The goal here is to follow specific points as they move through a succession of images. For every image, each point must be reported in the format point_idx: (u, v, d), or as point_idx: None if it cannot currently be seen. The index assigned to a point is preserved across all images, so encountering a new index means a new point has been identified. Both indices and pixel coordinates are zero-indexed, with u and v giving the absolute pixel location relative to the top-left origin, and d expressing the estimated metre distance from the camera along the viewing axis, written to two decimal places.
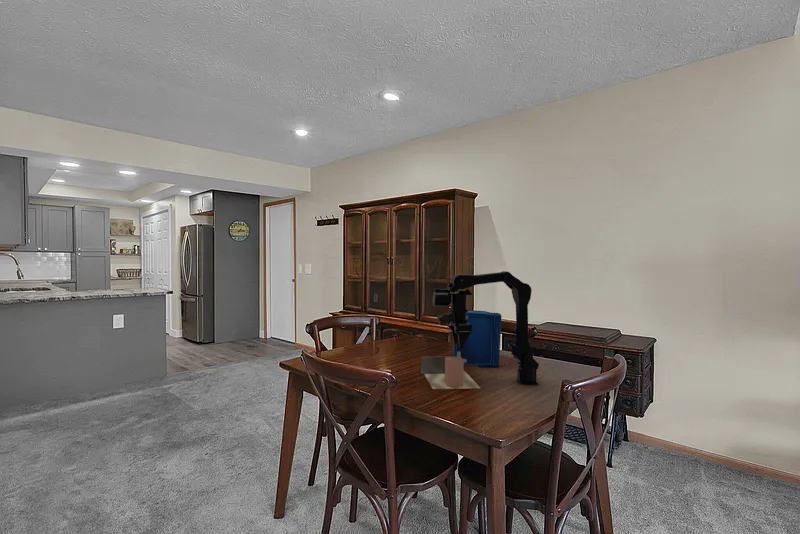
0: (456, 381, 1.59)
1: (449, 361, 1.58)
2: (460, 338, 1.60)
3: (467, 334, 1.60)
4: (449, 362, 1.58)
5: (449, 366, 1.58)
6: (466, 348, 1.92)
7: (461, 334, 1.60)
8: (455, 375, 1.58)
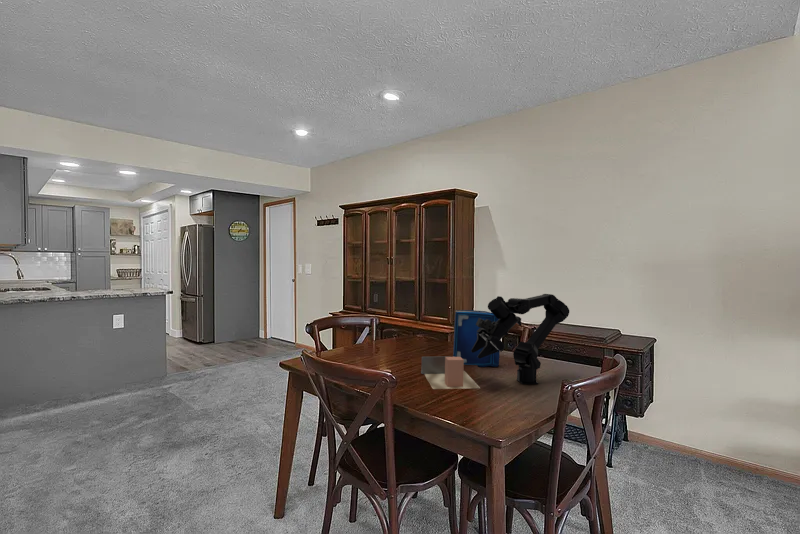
0: (456, 381, 1.59)
1: (449, 361, 1.58)
2: (485, 349, 1.56)
3: (494, 351, 1.56)
4: (449, 362, 1.58)
5: (449, 366, 1.58)
6: (466, 348, 1.92)
7: (489, 347, 1.56)
8: (455, 375, 1.58)
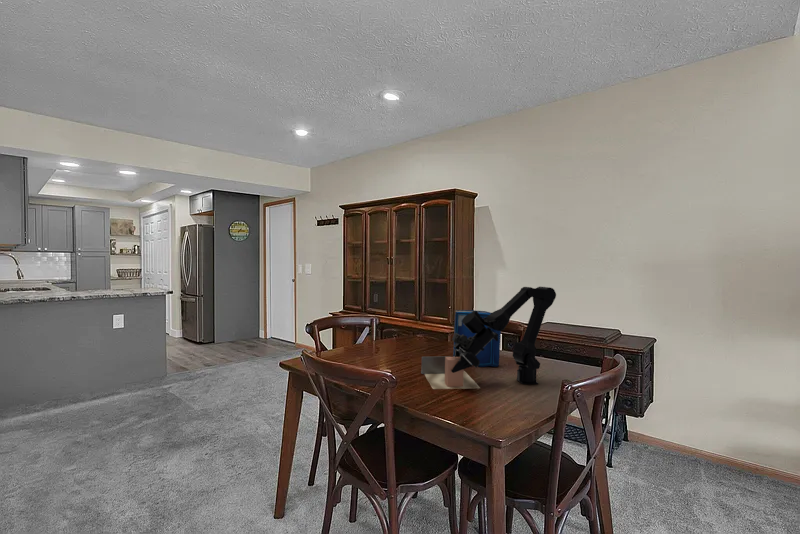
0: (456, 381, 1.59)
1: (449, 361, 1.58)
2: (459, 363, 1.57)
3: (467, 365, 1.57)
4: (449, 362, 1.58)
5: (449, 366, 1.58)
6: None
7: (462, 361, 1.57)
8: (455, 375, 1.58)
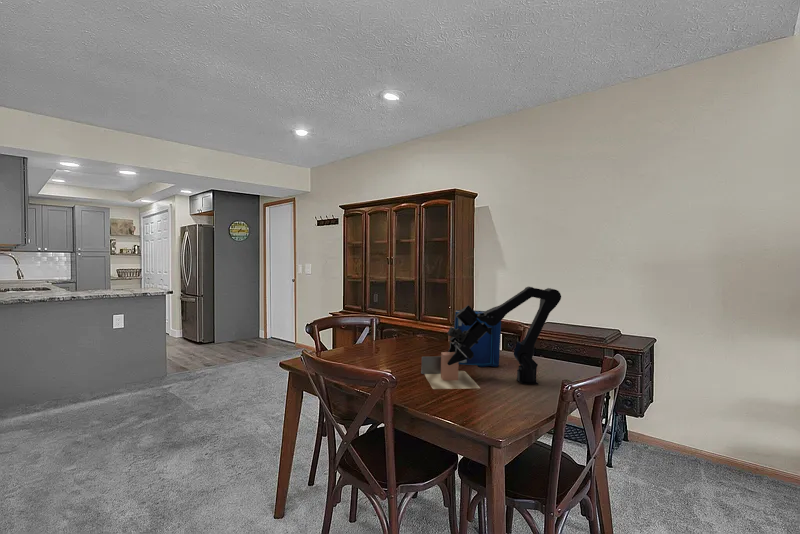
0: (451, 375, 1.67)
1: (445, 356, 1.66)
2: (455, 356, 1.64)
3: (462, 358, 1.64)
4: (445, 357, 1.66)
5: (445, 361, 1.66)
6: None
7: (458, 354, 1.64)
8: (450, 370, 1.66)
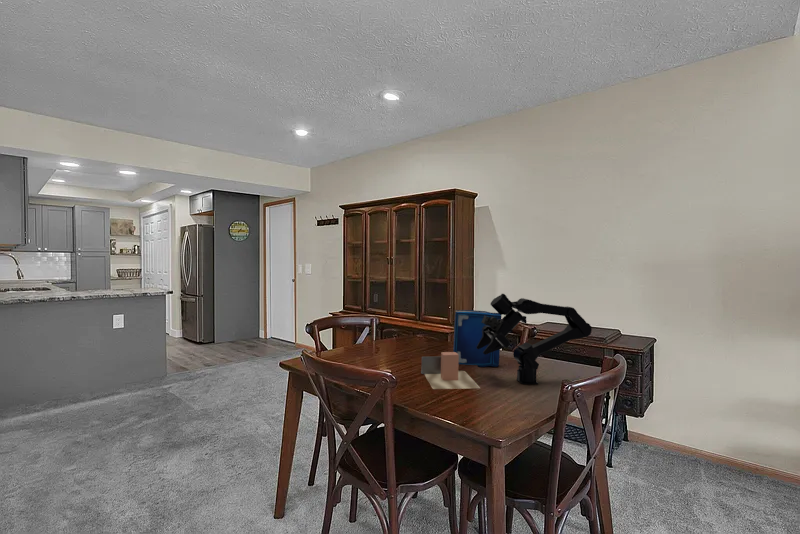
0: (451, 375, 1.67)
1: (445, 356, 1.66)
2: (491, 345, 1.61)
3: (499, 347, 1.61)
4: (445, 357, 1.66)
5: (445, 361, 1.66)
6: (466, 349, 1.92)
7: (494, 343, 1.61)
8: (450, 370, 1.66)
